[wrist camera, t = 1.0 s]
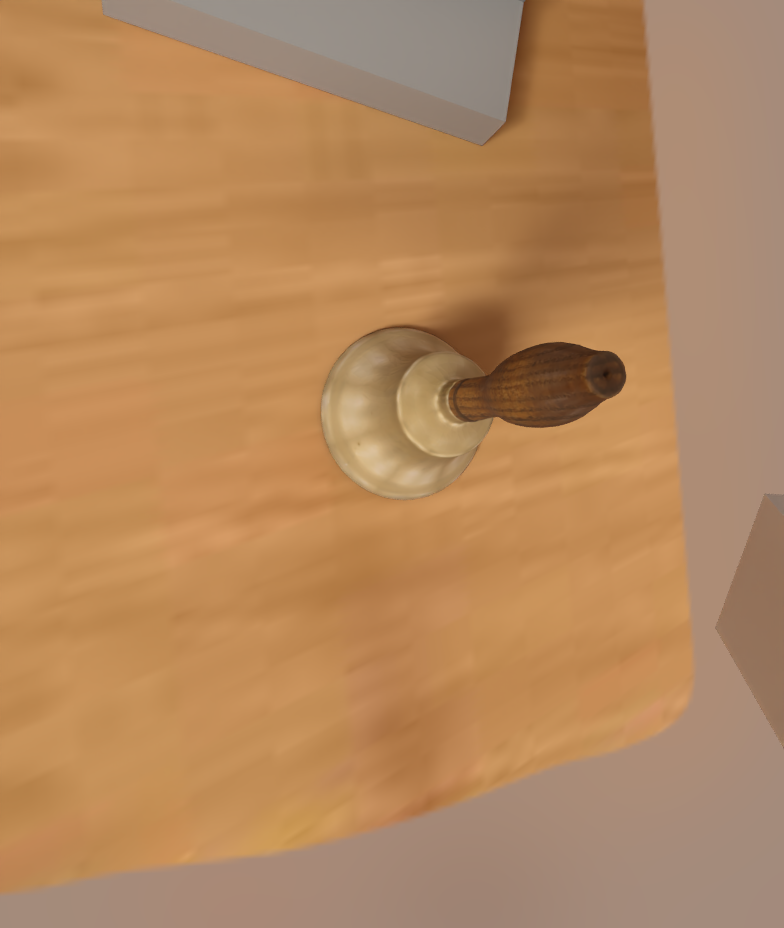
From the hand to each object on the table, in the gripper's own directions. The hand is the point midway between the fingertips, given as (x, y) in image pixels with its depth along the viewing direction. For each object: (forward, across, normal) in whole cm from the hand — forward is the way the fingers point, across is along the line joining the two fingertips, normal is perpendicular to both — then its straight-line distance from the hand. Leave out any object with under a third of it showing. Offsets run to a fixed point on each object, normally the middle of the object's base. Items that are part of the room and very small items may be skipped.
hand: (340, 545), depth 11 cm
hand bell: (+22, +2, -8) cm, 23 cm away
